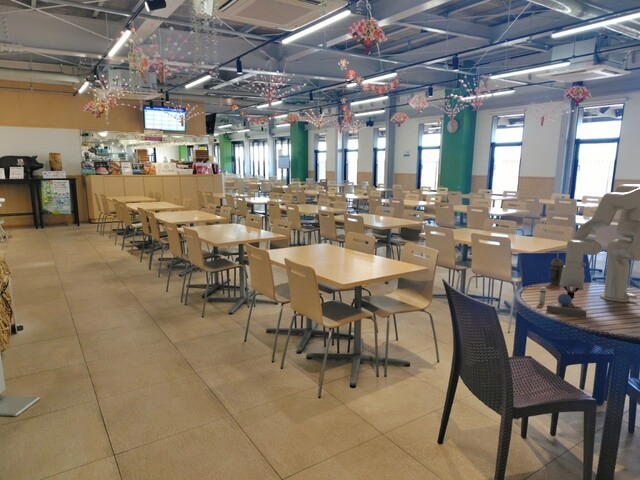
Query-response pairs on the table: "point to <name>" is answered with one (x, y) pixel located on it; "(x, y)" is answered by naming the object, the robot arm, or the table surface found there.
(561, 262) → the beverage cup
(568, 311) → the back wall
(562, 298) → the ball
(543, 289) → the grey pin
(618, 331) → the table surface
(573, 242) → the robot arm
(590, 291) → the table surface
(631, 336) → the table surface
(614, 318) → the table surface
